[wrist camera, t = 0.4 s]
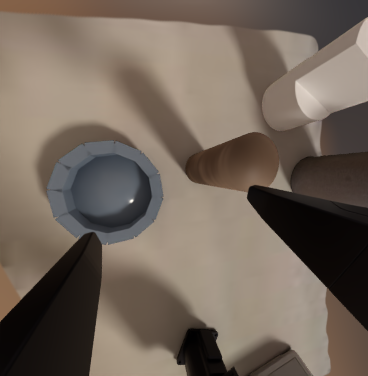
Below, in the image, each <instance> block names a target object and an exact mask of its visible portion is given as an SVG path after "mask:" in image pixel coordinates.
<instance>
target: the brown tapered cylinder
mask: <svg viewBox="0 0 368 376" xmlns="http://www.w3.org/2000/svg"><path fill="white" fill-rule="evenodd" d="M278 167H279V156H278V151H277V148H276V146H275V144H274V143H273V141H272V140H271V139H270V138H269V137H267V136H266V135H264V134H262V133H258V132H252V133H248V134H245V135H243V136H240V137H238V138H235V139H232V140H230V141H227V142H225V143H222V144H220V145H217V146H215V147H212V148H209V149H207V150H204V151H202V152H199V153H197V154H194V155H192V156H191V157H190V158H189V159H188V161H187V163H186V168H185V169H186V174H187V176H188V178H189V179H190V180H191V181H193V182H195V183H199V184H204V185H210V186H216V187H221V188H227V189H232V190H238V191H244V192H248V189H249V187H250V186H253V185H260V186H264V187H268V186H269V185H270V184H271V183H272V182H273V180H274V179H275V177H276V174H277V171H278Z"/></svg>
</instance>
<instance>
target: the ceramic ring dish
mask: <svg viewBox="0 0 368 376" xmlns="http://www.w3.org/2000/svg"><path fill="white" fill-rule="evenodd" d="M84 144H85V145H84ZM84 144H81V145H79V146H78V147H76V148H75V149H73V150H72V151H70V152H69V153H68V154H66V155H65V156H63V157H62V158H60V159H59V160H58V161H59V162H60V163H59V162H56V164H55V167H54V170H53V172H52V175H51V178H50V180H49V183H48V185H47V189H50V190H48V191H46V192H47V195H48V199H49V202H50V206H51V209H52V213H53V217H58V218H56V219H55V220H56V221H57V222H59V223H60V224H61V225H62V226H63V227H64V228H66V229H67V230H68V231H69V232H70V233H71V234H72V235H74V236H75V237H76V238H77V237H78V236H79V235H80V237H79V239H80V238H81V237H82V236H83V235H84V234H86V233H89V232H95V233H96V235H97V236H98V238H99V240H100V241H101V244H104V245H106V244H107V242H108V245H109V244H113V243H117V242H121V241H125V240H129V239H133V238H134V236H135V237H137V236H138V235H139V234H140V233H141V232H142V231H144V230H145V229H146V228H147V227H148V226H149V225H151V224H152V223H153V222H154V220H155V219H156V216H157V214H158V211H159V209H160V206H161V203H162V201H163V191H162V185H161V179H160V174H157V173H158V170H157V169H156V168H155V167H154V165H153V164H152V163H151V162H150V160H149V159H148V158H147V157H146V156H145V154H144V153H141V151H139V150H137V149H135V148H132V147H130V146H128V145H125V144H123V143H120V142H118V141H116V142H115V141H114V140H110V141H99V142H87V143H84Z"/></svg>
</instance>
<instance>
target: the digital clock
mask: <svg viewBox="0 0 368 376" xmlns="http://www.w3.org/2000/svg"><path fill="white" fill-rule="evenodd" d="M250 376H313V375H312V374H311V372H310V371H309V369H308V368H307V366H306V365H305V364H304V362H303V361H302V359H301V358H300V357H299V355H298V354H297V353H296V352H295V351H294V350H290V351H288V352H286V353H285V354H283V355H281V354H280V355H279V356H277V357H276V358H274V359H273V360H271V361H270V362H268V363H267V364H265V365H264V366H262V367H261V368H259V369H258V370H256V371H255V372H253V373H252V374H250Z"/></svg>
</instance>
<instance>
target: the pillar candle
mask: <svg viewBox="0 0 368 376" xmlns="http://www.w3.org/2000/svg"><path fill="white" fill-rule="evenodd" d="M291 187H292V191H293V193H298V194H302V195H307V196H312V197H317V198H321V199H326V200H331V201H336V202H340V203H345V204H350V205H356V206H361V207H367V208H368V152H360V153H349V154H339V155H328V156H320V157H306V158H304V159H302V160H301V161H300V162H299V163H298V164H297V165H296V167H295V169H294V171H293V173H292V178H291Z"/></svg>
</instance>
